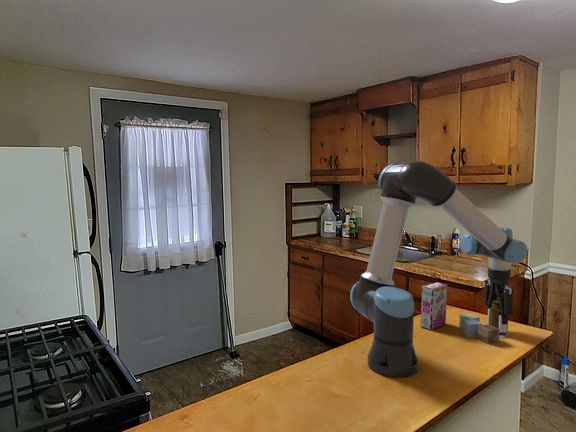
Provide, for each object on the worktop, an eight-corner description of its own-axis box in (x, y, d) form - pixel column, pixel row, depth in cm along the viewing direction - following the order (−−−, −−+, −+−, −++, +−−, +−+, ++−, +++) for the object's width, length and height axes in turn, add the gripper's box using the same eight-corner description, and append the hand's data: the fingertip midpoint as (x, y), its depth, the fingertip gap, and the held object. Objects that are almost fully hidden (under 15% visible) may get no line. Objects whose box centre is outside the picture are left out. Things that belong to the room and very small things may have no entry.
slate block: (468, 337, 142) (468, 324, 142) (462, 332, 147) (462, 319, 147) (481, 337, 142) (482, 324, 142) (475, 332, 147) (475, 319, 147)
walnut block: (487, 344, 136) (488, 330, 135) (476, 339, 141) (477, 325, 140) (499, 342, 137) (499, 329, 137) (488, 337, 142) (488, 324, 142)
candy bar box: (431, 331, 148) (433, 289, 147) (420, 327, 152) (421, 286, 150) (446, 324, 155) (448, 284, 154) (435, 320, 159) (436, 281, 158)
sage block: (470, 331, 147) (470, 319, 147) (459, 327, 152) (459, 315, 152) (479, 329, 150) (479, 317, 149) (468, 325, 154) (468, 313, 154)
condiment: (511, 332, 147) (512, 301, 146) (503, 338, 141) (505, 306, 140) (490, 327, 152) (492, 297, 151) (482, 333, 146) (484, 301, 145)
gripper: (526, 274, 135) (523, 338, 137) (493, 262, 154) (490, 319, 156) (506, 274, 135) (503, 339, 137) (475, 263, 154) (472, 320, 156)
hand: (496, 328), depth 147 cm, fingers closed on condiment, 6 cm apart
